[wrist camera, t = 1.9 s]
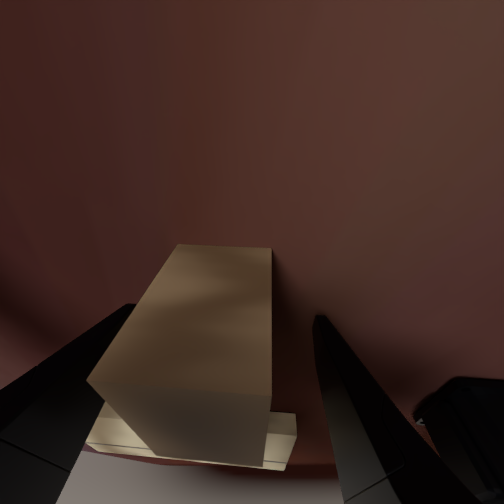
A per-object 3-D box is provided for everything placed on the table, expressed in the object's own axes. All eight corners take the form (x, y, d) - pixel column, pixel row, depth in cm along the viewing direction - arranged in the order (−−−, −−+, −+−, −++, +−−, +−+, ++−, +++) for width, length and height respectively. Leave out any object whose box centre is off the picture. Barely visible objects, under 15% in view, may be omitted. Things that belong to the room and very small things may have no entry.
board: (295, 413, 18) (297, 436, 17) (283, 452, 25) (283, 471, 24) (55, 392, 20) (40, 412, 18) (106, 435, 26) (97, 451, 25)
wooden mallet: (271, 247, 9) (272, 396, 4) (261, 404, 18) (257, 505, 13) (178, 243, 9) (86, 380, 5) (214, 400, 18) (195, 498, 14)
